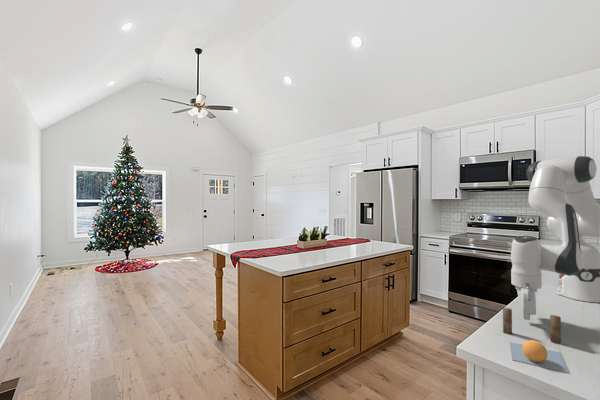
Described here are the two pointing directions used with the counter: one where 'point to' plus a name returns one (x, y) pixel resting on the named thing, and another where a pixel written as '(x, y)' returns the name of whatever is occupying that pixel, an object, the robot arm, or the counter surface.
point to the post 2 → (555, 329)
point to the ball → (534, 351)
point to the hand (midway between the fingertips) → (526, 318)
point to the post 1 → (507, 321)
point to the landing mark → (551, 362)
